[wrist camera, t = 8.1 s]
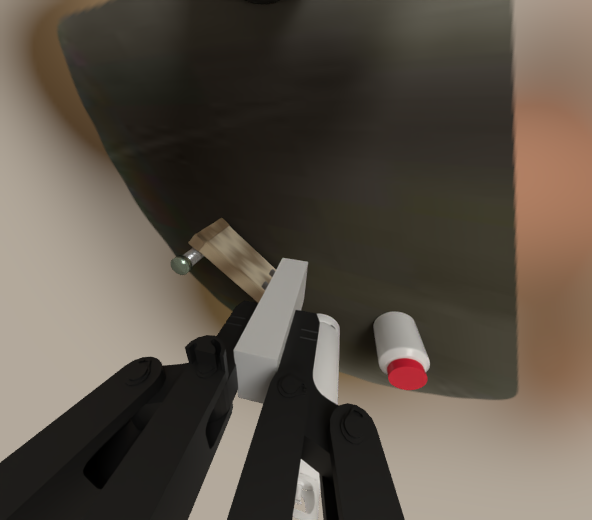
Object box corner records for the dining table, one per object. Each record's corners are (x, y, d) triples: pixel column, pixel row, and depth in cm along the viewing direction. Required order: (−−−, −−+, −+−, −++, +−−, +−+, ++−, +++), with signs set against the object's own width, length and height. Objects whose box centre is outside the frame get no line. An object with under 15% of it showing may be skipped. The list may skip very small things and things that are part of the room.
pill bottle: (417, 339, 44) (437, 394, 34) (376, 342, 46) (384, 394, 37) (414, 309, 41) (434, 360, 31) (370, 313, 43) (377, 362, 34)
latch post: (212, 223, 41) (164, 253, 30) (230, 226, 40) (188, 257, 29) (214, 241, 42) (170, 275, 32) (232, 244, 42) (193, 279, 31)
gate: (284, 273, 41) (271, 300, 34) (275, 280, 42) (262, 307, 36) (222, 216, 38) (195, 233, 31) (215, 225, 39) (188, 243, 32)
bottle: (297, 334, 50) (252, 520, 25) (307, 308, 46) (264, 499, 21) (332, 346, 49) (320, 546, 25) (345, 321, 45) (345, 530, 21)
